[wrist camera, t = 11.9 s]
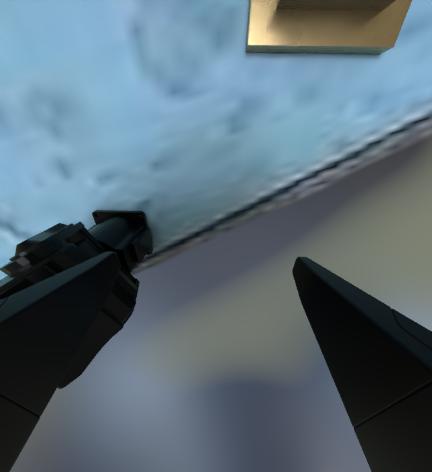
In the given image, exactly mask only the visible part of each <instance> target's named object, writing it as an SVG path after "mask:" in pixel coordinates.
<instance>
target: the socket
mask: <svg viewBox="0 0 432 472" xmlns="http://www.w3.org/2000/svg"><path fill="white" fill-rule="evenodd" d="M411 2H412V0H250V3H249V16H248V29H247V42H246V52H278V53H345V54H381V53H383V52H385V51H387V50H389V49H391V48H393V47H394V45H395V42H396V40H397V37H398V35H399V32H400V30H401V27H402V24H403V22H404V19H405V17H406V14H407V12H408V9H409V7H410V4H411Z"/></svg>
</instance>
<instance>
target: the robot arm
mask: <svg viewBox="0 0 432 472" xmlns="http://www.w3.org/2000/svg"><path fill="white" fill-rule="evenodd" d="M97 214H98V215H99V216H98V215H97ZM139 214H140V215H142V217H140V215H139ZM92 215H93V218H94V220H95V223H96V225H94V226H93V227H91V228H90V229H88V230H87V229H86V228H85V227H84V225H83V224H82V223H81V222H78V223H76V224H75V225H73V224H70V225H65V224H61V223H59V224H57V225H55V226H53V227H51V228H49V229H47V230H45V231H44V232H42V233H39V234H37V235H35V236H33V237H31V238H29V239H27V240H25V241H23V242H22V243H20V244H18V245H17V246H16V252H15V256H14V257H12V258H10V259H9V260H10V261H11V262H9V263H8V264H6V265H5V266H3V267H2V268H0V270H1V271H2V272H4V273H5V274H7V275H8V276H6V277H5V278H3V279H2V280H0V472H9V471H10V470H11V468H12V467H13V465H14V463H15V461H16V460H17V457H18V456H19V454H20V452H21V451H22V449H23V447H24V445H25V444H26V442H27V440H28V438H29V436H30V435H31V433H32V431H33V429H34V428H35V426H36V424H37V422H38V420H39V419H40V416H41V415H42V413H43V411H44V409H45V408H46V406H47V404H48V402H49V401H50V399H51V397H52V395H53V394H54V392H55V390H56V388H59V389H61V388H64V387H65V386H67V385H68V384H69V383H71V382H72V381H73V380H75V379H76V378H77V377H79V376H80V375H81V374H82V372H84V370H85V369H86V367H87V366H88V365H89V364H90V362H91V361H92V359H93V358H94V357H95V356H96V354H97V353H98V352H99V351H100V350H101V348H102V347H103V346H104V345H105V344H106V343H107V342H108V341H109V340H110V339H111V338H112V337H113V336H114V335H115V334H116V333H118V332H119V331H120V330H121V329H122V328H123V325H124V324H125V323H126V322H127V320H128V318H129V317H130V316H131V314H132V312H133V310H134V307H135V304H136V297H137V292H138V287H139V281H138V280H137V279H135V278H134V277H133V276H132V275H131V274H130V273H131V271H132V270H133V268H134V267H135V265H136V264H137V263H140V262H141V261H142V260H143V258H144V257H145V255H150V254H152V252H153V249H152V244H153V242H152V238H151V233H150V229H149V227H148V226H147V221H146V217H145V214H144V213H143V212H141V211H102V210H96V211H94V212H93V213H92ZM148 250H149V251H150V252H149V251H148ZM293 277H294V280H295V283H296V287H297V290H298V293H299V297H300V300H301V303H302V306H303V308H304V310H305V313H306V315H307V318H308V320H309V322H310V325H311V327H312V329H313V332H314V334H315V337H316V339H317V341H318V344H319V346H320V349H321V351H322V354H323V356H324V358H325V361H326V363H327V366H328V368H329V370H330V373H331V375H332V378H333V380H334V382H335V385H336V387H337V390H338V392H339V394H340V397H341V399H342V401H343V404H344V406H345V409H346V411H347V413H348V416H349V418H350V421H351V423H352V425H353V427H354V431H355V433H356V435H357V438H358V440H359V443H360V445H361V447H362V450H363V452H364V455H365V457H366V459H367V462H368V464H369V466H370V469H371V471H372V472H432V331H430V330H428V329H426V328H425V327H423V326H421V325H420V324H418V323H416V322H414V321H413V320H411V319H409V318H407V317H406V316H404V315H402V314H401V313H399V312H398V311H396V310H394V309H391V308H390V307H389V306H387V305H386V304H384V303H382V302H381V301H379V300H377V299H376V298H374V297H372V296H371V295H369V294H367V293H366V292H364V291H362V290H361V289H359V288H357V287H356V286H354V285H352V284H351V283H349V282H347V281H345V280H344V279H342V278H341V277H339V276H337V275H336V274H334V273H332V272H330V271H329V270H327V269H326V268H324V267H322V266H321V265H319V264H317V263H316V262H314V261H312V260H311V259H309V258H307V257H298V258H297V259H296V261H295V264H294V267H293Z"/></svg>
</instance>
